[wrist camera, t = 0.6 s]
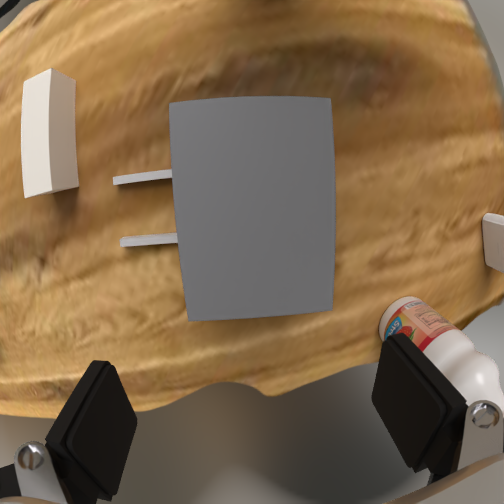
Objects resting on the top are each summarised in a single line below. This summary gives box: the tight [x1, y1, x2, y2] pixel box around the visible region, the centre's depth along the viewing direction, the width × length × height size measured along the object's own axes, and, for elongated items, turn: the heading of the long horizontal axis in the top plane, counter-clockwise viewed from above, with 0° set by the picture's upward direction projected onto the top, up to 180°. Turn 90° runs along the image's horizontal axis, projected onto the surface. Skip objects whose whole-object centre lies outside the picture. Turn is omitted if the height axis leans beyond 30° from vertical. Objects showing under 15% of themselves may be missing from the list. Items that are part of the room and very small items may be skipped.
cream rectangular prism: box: [21, 68, 79, 198], centre depth 28 cm, size 5×16×7 cm, turn 5°
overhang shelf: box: [113, 96, 336, 321], centre depth 30 cm, size 20×24×12 cm
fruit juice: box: [379, 296, 504, 418], centre depth 28 cm, size 9×9×28 cm
